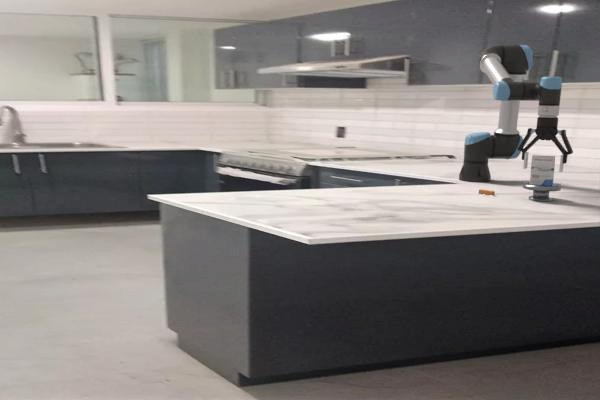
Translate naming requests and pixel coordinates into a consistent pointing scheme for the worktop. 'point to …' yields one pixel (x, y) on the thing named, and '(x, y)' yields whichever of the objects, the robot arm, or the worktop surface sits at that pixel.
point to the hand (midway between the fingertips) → (542, 170)
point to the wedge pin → (486, 192)
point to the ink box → (542, 170)
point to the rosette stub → (541, 191)
